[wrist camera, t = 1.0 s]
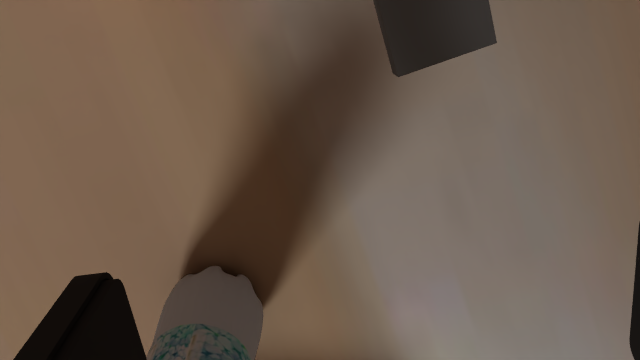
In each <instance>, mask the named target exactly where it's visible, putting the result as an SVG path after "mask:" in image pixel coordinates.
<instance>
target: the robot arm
mask: <svg viewBox="0 0 640 360" xmlns="http://www.w3.org/2000/svg"><path fill="white" fill-rule="evenodd" d="M630 348H631V352H632V355H633V357H634V359H635V360H640V223H639V233H638V245H637V257H636V269H635V281H634V293H633V305H632V317H631V328H630ZM13 360H147V359H146V355H145V352H144V349H143V346H142V343H141V339H140V336H139V333H138V330H137V327H136V323H135V320H134V317H133V314H132V311H131V307H130V304H129V301H128V298H127V295H126V291H125V288H124V285H123V283H122V282H121V280H119V279H113V277H112V276H111V275H110V274H109V273H107V272H106V273H97V274H89V275H81V276H75V277H74V278H73V279H72V280H71V281H70V283H69V284H68V286H67V287H66V288H65V290H64V291H63V292H62V294H61V295H60V297H59V298H58V299H57V301H56V302H55V303H54V305H53V306H52V307H51V309H50V310H49V312H48V313H47V314H46V316H45V317H44V318H43V320H42V321H41V323H40V324H39V325H38V327H37V328H36V329H35V331H34V332H33V333H32V335H31V336H30V338H29V339H28V340H27V342H26V343H25V344H24V346H23V347H22V348H21V350H20V351H19V353H18V354H17V355H16V357H15V358H14V359H13Z"/></svg>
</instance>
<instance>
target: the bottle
mask: <svg viewBox="0 0 640 360" xmlns="http://www.w3.org/2000/svg"><path fill="white" fill-rule="evenodd" d="M262 323H263V306H262V303H261V301H260V300H259V298H258V297H257V296H256V294H255V292H254V290H253V287H252V284H251V282H250V281H249V279H248V278H247V277H245V276H244V275H242V274H240V275H238V276H237V277H235V276H232V275H230V274H227V273H225V272H223V271H222V269H221V267H220V266H210V267H208V268H206V269H205V270H203V271H202V272H200V273H198V274H195V275H193V274H188V275H186V276H184V277H183V278H182V279H181V280H180V281H179V282H178V283H177V284H176V285H175V287H174V288H173V290H172V291H171V293H170V295H169V297H168V298H167V300H166V302H165V305H164V307H163V310H162V313H161V316H160V319H159V322H158V326H157V329H156V333H155V336H154V340H153V343H152V346H151V348H150V350H149V352H148V355H147V357H146V359H147V360H255V356H256V353H257V349H258V345H259V341H260V336H261V331H262Z"/></svg>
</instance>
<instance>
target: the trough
mask: <svg viewBox="0 0 640 360" xmlns="http://www.w3.org/2000/svg"><path fill="white" fill-rule="evenodd" d="M373 1H374V5H375V8H376V12H377V16H378V20H379V23H380V27H381V31H382V35H383V38H384V42H385V46H386V50H387V53H388V57H389V61H390V64H391V68H392V72H393V74H394V75H396V76H397V77H400V76H403V75H406V74H409V73H411V72H414V71H417V70H420V69H423V68H426V67H429V66H432V65H434V64H437V63H440V62H443V61H446V60H449V59H452V58H455V57H458V56H460V55H463V54H466V53H469V52H472V51H475V50H478V49H481V48H483V47H486V46H489V45H492V44H495V43H497V41H496V36H495V31H494V26H493V21H492V16H491V10H490V5H489V0H373Z"/></svg>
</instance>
